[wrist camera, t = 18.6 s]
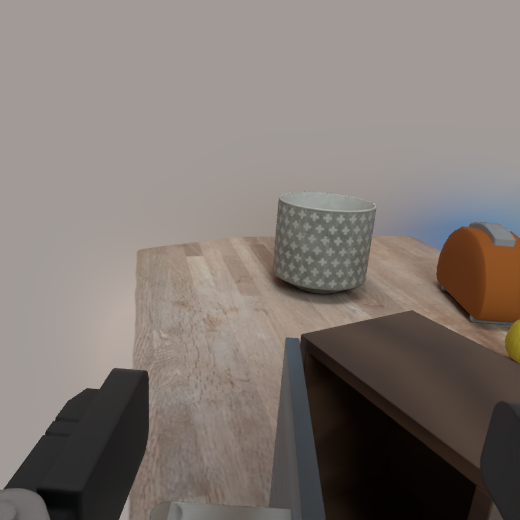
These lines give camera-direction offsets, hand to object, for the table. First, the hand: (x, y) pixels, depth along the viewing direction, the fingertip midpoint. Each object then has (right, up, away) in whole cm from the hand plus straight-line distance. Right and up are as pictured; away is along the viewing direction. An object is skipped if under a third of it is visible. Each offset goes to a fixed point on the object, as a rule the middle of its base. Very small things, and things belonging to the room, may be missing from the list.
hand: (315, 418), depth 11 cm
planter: (+11, -2, +84) cm, 85 cm away
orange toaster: (+41, -6, +80) cm, 91 cm away
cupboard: (+10, -21, +26) cm, 34 cm away
